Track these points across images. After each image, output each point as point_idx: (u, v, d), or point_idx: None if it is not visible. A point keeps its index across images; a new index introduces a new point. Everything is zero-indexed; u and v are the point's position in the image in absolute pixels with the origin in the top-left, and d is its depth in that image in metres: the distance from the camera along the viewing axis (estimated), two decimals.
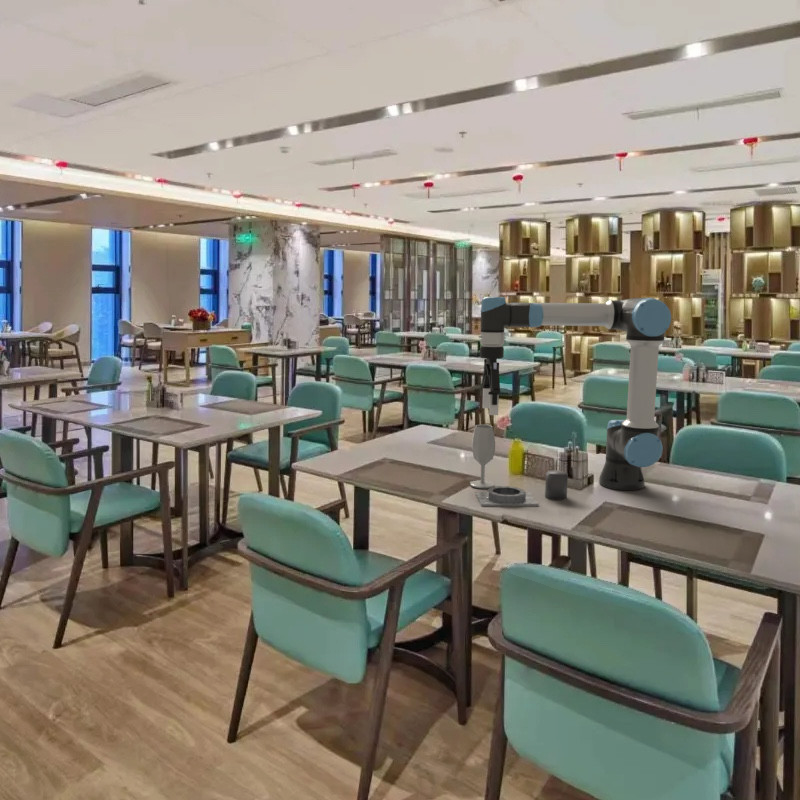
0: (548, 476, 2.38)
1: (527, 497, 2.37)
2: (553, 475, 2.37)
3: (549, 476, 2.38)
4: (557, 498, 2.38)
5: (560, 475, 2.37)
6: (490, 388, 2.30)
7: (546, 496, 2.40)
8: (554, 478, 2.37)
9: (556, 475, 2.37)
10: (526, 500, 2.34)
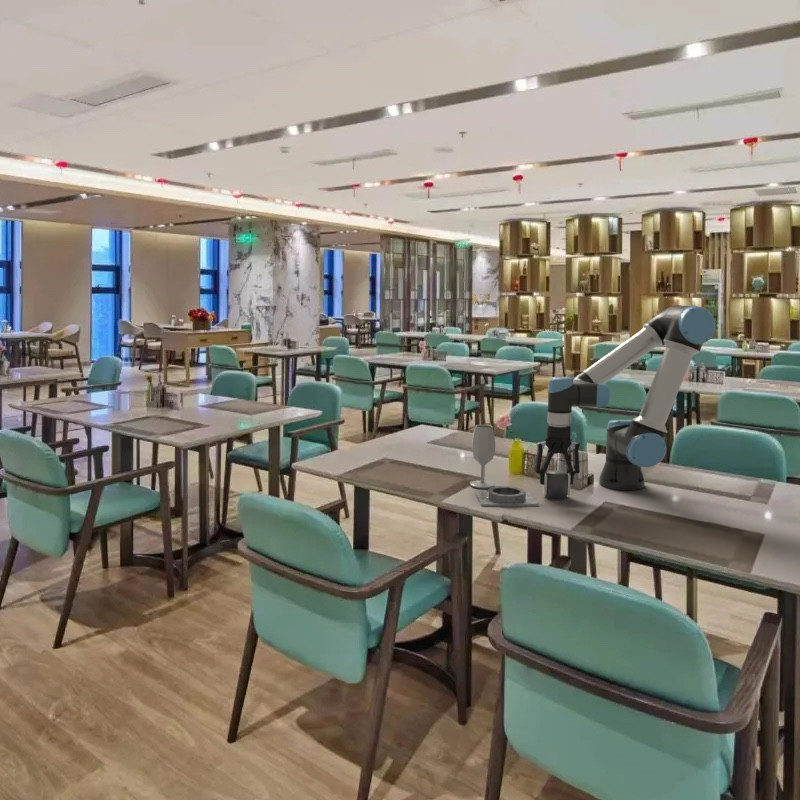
0: (548, 476, 2.38)
1: (527, 497, 2.37)
2: (553, 475, 2.37)
3: (549, 476, 2.38)
4: (557, 498, 2.38)
5: (560, 475, 2.37)
6: None
7: (546, 496, 2.40)
8: (554, 478, 2.37)
9: (556, 475, 2.37)
10: (526, 500, 2.34)
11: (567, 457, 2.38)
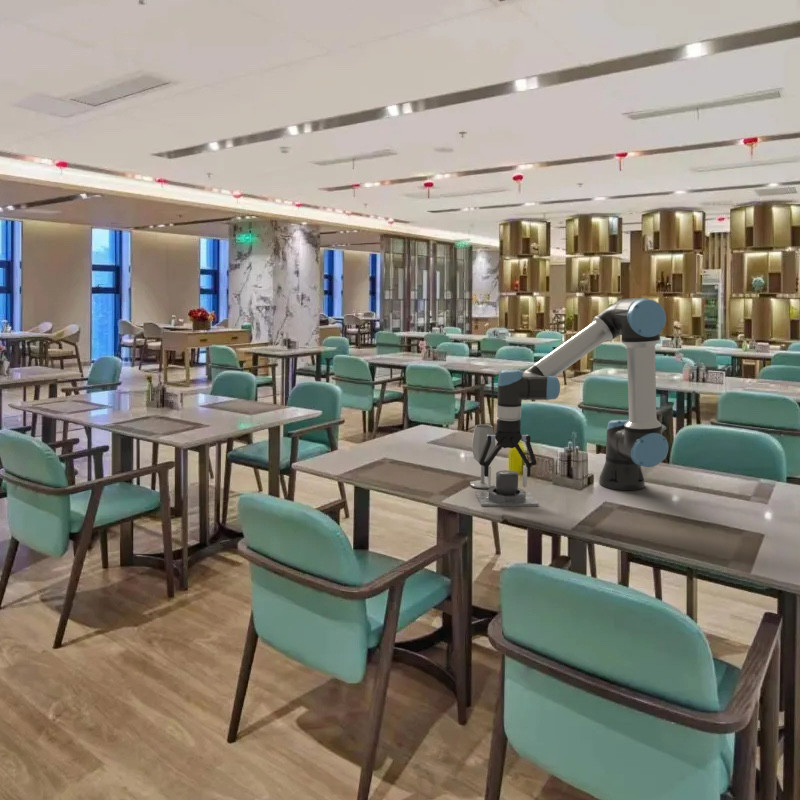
0: (498, 476, 2.34)
1: (527, 497, 2.37)
2: (503, 475, 2.33)
3: (499, 476, 2.34)
4: None
5: (510, 475, 2.33)
6: None
7: None
8: (504, 478, 2.33)
9: (506, 475, 2.33)
10: (526, 500, 2.34)
11: (520, 450, 2.33)
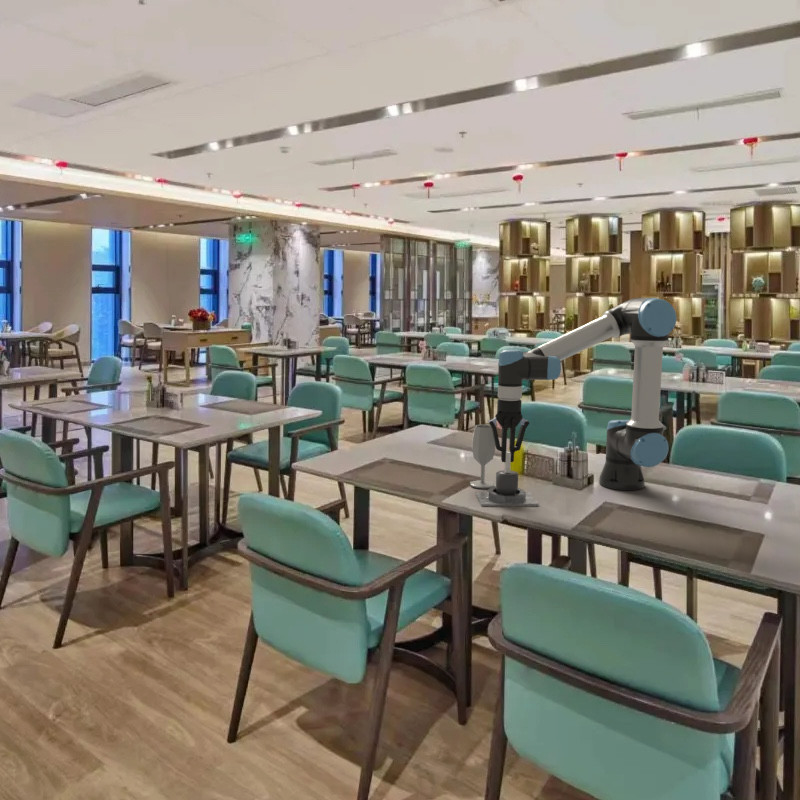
0: (498, 476, 2.34)
1: (527, 497, 2.37)
2: (503, 475, 2.33)
3: (499, 476, 2.34)
4: None
5: (510, 475, 2.33)
6: None
7: None
8: (504, 478, 2.33)
9: (506, 475, 2.33)
10: (526, 500, 2.34)
11: (513, 433, 2.32)
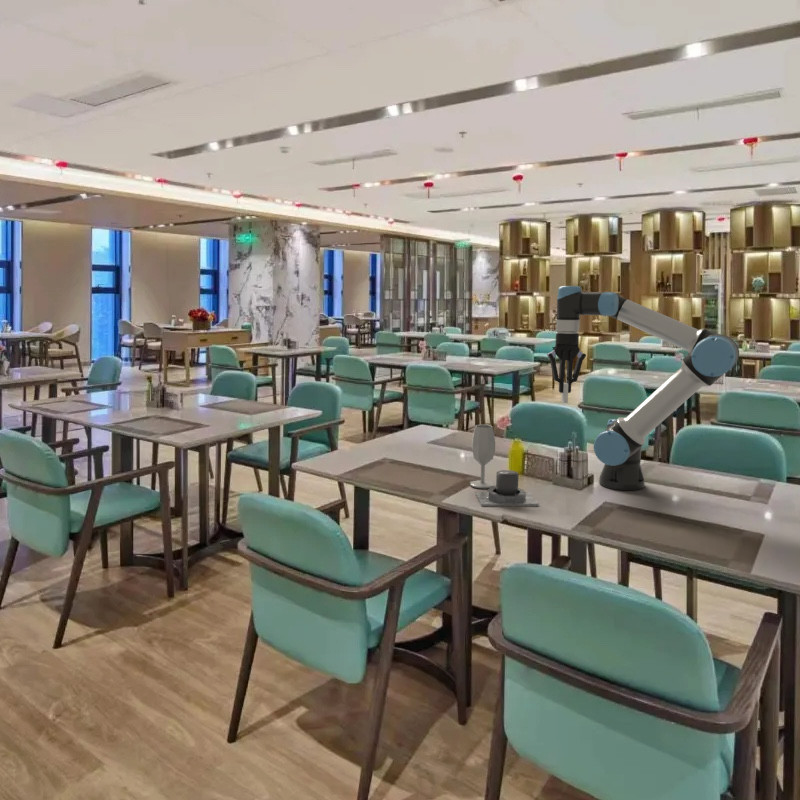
0: (498, 476, 2.34)
1: (527, 497, 2.37)
2: (503, 475, 2.33)
3: (499, 476, 2.34)
4: None
5: (510, 475, 2.33)
6: None
7: None
8: (504, 478, 2.33)
9: (506, 475, 2.33)
10: (526, 500, 2.34)
11: (571, 365, 2.47)
